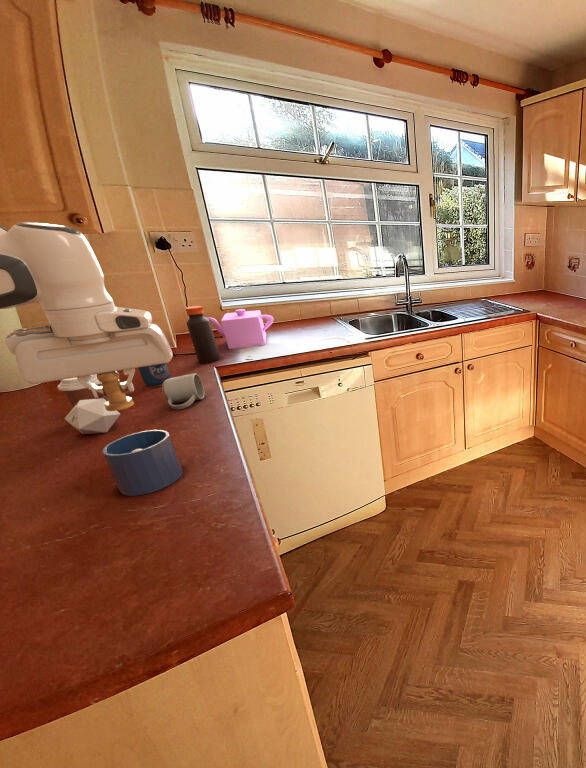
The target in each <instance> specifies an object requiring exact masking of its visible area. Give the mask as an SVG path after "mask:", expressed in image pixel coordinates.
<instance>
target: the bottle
mask: <svg viewBox="0 0 586 768" xmlns="http://www.w3.org/2000/svg"><path fill="white" fill-rule="evenodd" d="M185 312H186V315H187V317H188V319H187V321H186V327H187V329H188V330H187V331H188V333H189V336H190V339H191V342H192V345H193V349H194V352H195V355H196V358H197V361H198V363H200V364H210V363H215V362H218V361H220V360H221V356H220V353H219V348H218V345H217V343H216V338H215V335H214V331H213V327H212V325H211V322H210V321H209V319H207V318H206V317H207V316H204V313H205V311H204V309H203V306H202V305H193V306H188V307H185Z"/></svg>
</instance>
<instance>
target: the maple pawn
mask: <svg viewBox="0 0 586 768" xmlns="http://www.w3.org/2000/svg"><path fill="white" fill-rule="evenodd" d="M97 379H98V381H100V382H101V385H102V387H103V390H104V392H105V395H106V397H107V399H108V401H107V402H105V403H104V405H105V408H106V410H107V411H123V410H125V409H129V408H131V407H132V406H134V405H135V401H134V400H133V397H131V396H127V395H126V393H123V391H122V390H123V389H121V386H120V384H121V380H120V373H119V372H118V371H113V372H107V373H101V374H97Z"/></svg>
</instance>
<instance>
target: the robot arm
mask: <svg viewBox="0 0 586 768" xmlns="http://www.w3.org/2000/svg"><path fill="white" fill-rule="evenodd" d="M34 303H36V304H38V305H40V306H41V308H42V311H43V312H44V314H45V317H46V319H47V321H48V323H49V325H42V326H36V327H35V326H34V327H29V328H17V329H14V330H13V331H12V332H9V333H8V334H7V335H6V336H5V339H4V343H5V345H6V347H7V350H8V351H9V352H10V353H11V354H12V355H14V356H15V361H16V365H17V369H18V371H19V374H20V376H21V378H22V380H23V381H24V382H26V383H29V384H31V385H37V384H44V383H49V382H55V381H56V382H57V381H61V380H63V379H69V378H76V377H77V379H78V381H79V383H80V384H82V385H83V386H85V387H86V388H88V389H89V390H92V393H93V395H94V397H95V398H100V397H105V396H106V395H105V392H104V390H103V387H102V386H97V385H96V384H94V383H93V382H92V381H90V379H91V375H94V374H101V373H107V372H113V371H117V372H118V371H122V372H123V375H124V376H127V379H126V381H122V382H121V381H120V382H121V384H120V386H121V389H123V390H122V391H123V393H125V394H128V393H133V392H134V391H135V386H134V384H133V379H134V376H135V373H136V369H137V368H138V367H144V366H150V365H157V364H163V363H166V364H168V363H170V362H171V360H172V359H173V357H174V354H173V350H172V347H171V344H170V343H169V341H168V340H169V339H167V336H166V335H165V333H164V331H163V330H162V328H160V327H159V326H158V325H157V324H155V323H153V316H152V313H151V312H150V311H148V310H144V309H135V308H129V307H120V306H116V304H115V301H114V300H113V297H112V296H111V295H110V293H108V291H107V289H106V286H105V275H104V272H103V270H102V267H101V265H100V263H99V260H98V258H97V256H96V254H95V251H94V249H93V248H92V246H91V244H90V242H89V241H88V239H87V238H86V236H85V235H84V234H83V233H82V232H81V231H79V230H78V229H76V228H74V227H71V226H67V225H64V224H56V223H49V222H36V221H35V222H34V221H32V222H31V221H27V222H26V221H25V222H17V223H15V224H13V225H12V226H11V228H10V229H8V228H6V227H5V226H3V225H1V224H0V310H7V309H13V308H17V307H21V306H27V305H30V304H34ZM138 369H139V368H138Z"/></svg>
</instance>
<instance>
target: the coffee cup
mask: <svg viewBox="0 0 586 768" xmlns="http://www.w3.org/2000/svg"><path fill="white" fill-rule="evenodd" d="M90 381H92V382H93V383H94V384H96V385H97V386H102V385H101V382H100V381H98V379H97V374H94V375H91V379H90ZM57 390H58V391H61V392H63V394H64V395H65V396H66V399H67V401H68V402H69V404H70V405H71V407H72V409H73V408H74V406H75V405H76V404H77V403H78V402H79V400H89V399H103V398H104V399H105V400H106V401H108V399H107V397H106V396H105V397H100V398H95V397H94V395H93V393H92V390H89V389H88V388H86V387H85V386H83V385H82V384H80V383H79V381H78V379H77V377H76V378H69V379H63V380H60V382H59V384H58V385H57Z"/></svg>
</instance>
